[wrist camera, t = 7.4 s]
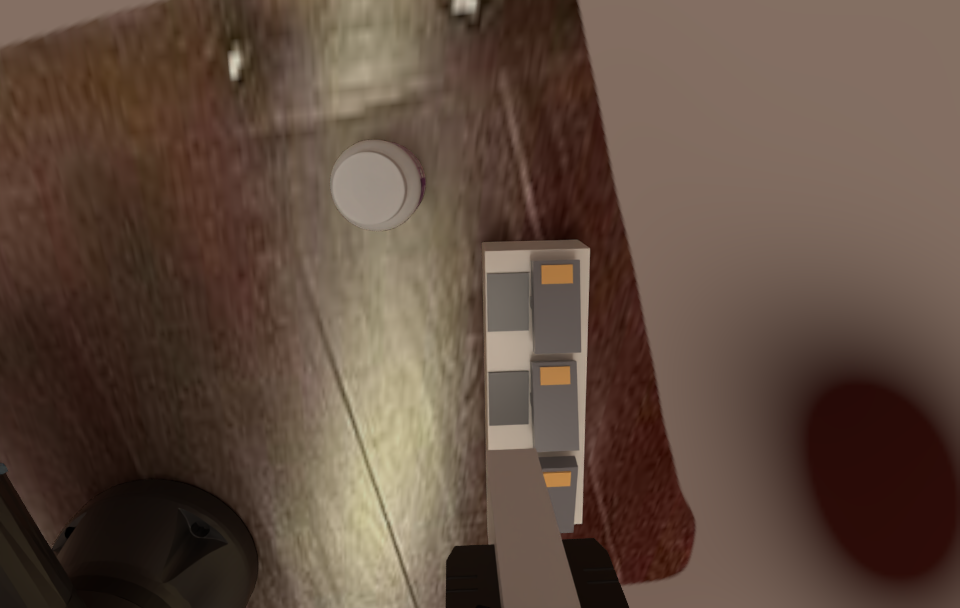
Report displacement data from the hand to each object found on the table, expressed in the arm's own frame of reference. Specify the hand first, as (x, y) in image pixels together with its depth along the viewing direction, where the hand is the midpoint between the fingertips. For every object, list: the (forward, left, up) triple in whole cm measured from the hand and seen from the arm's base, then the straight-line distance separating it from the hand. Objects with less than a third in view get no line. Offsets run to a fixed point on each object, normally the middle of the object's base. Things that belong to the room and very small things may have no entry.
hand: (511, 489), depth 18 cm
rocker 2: (+5, -7, -21) cm, 23 cm away
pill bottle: (-6, +8, -27) cm, 28 cm away
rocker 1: (+5, 0, -21) cm, 21 cm away
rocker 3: (+5, -14, -21) cm, 26 cm away
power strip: (+4, -7, -26) cm, 28 cm away
